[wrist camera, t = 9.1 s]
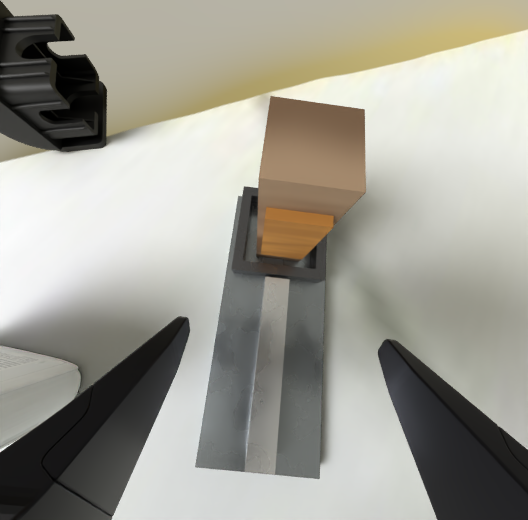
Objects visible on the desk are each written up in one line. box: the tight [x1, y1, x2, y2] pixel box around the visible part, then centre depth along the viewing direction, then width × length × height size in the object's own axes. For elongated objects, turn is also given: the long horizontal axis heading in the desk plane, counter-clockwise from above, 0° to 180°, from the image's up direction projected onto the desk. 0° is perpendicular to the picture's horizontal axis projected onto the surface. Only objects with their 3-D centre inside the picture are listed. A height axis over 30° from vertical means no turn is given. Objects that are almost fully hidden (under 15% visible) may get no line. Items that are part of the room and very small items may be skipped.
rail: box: [195, 187, 327, 479], centre depth 16 cm, size 22×9×3 cm, turn 174°
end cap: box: [0, 1, 107, 152], centre depth 19 cm, size 10×7×7 cm
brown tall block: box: [256, 96, 366, 262], centre depth 13 cm, size 5×4×11 cm
